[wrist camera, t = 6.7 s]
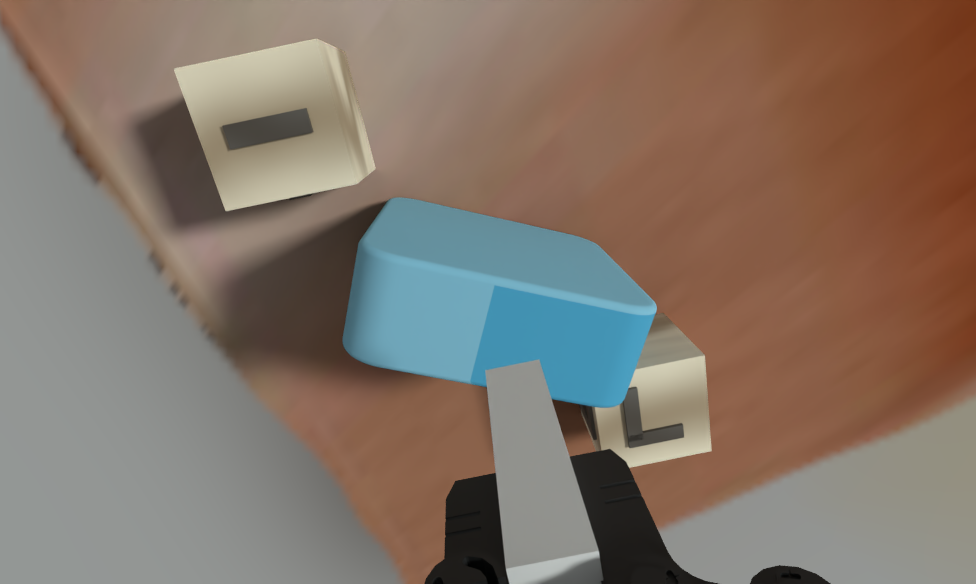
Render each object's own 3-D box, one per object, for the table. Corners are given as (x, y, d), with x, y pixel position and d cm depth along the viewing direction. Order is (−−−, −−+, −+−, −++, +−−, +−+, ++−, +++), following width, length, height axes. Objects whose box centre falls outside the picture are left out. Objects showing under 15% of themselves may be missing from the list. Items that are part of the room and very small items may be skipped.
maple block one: (227, 76, 28) (166, 69, 22) (345, 51, 28) (315, 37, 22) (267, 195, 30) (221, 217, 24) (376, 172, 30) (357, 189, 24)
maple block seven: (564, 332, 34) (587, 381, 28) (662, 312, 33) (706, 357, 28) (578, 416, 36) (602, 478, 30) (671, 397, 36) (713, 456, 30)
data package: (377, 268, 32) (333, 361, 20) (391, 192, 30) (352, 247, 19) (573, 309, 33) (633, 417, 22) (594, 239, 32) (671, 314, 20)
